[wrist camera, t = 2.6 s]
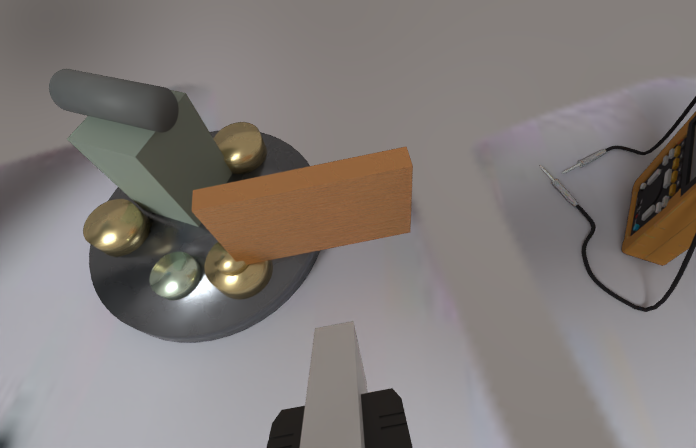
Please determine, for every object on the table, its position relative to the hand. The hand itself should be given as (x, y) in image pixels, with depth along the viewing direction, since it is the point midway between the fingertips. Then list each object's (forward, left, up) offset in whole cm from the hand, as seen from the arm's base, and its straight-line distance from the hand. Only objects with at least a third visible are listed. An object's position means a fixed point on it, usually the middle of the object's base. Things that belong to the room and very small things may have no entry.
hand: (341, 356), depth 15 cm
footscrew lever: (-7, +7, -10) cm, 14 cm away
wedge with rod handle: (-20, +10, -11) cm, 25 cm away
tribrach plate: (-17, +8, -13) cm, 23 cm away
